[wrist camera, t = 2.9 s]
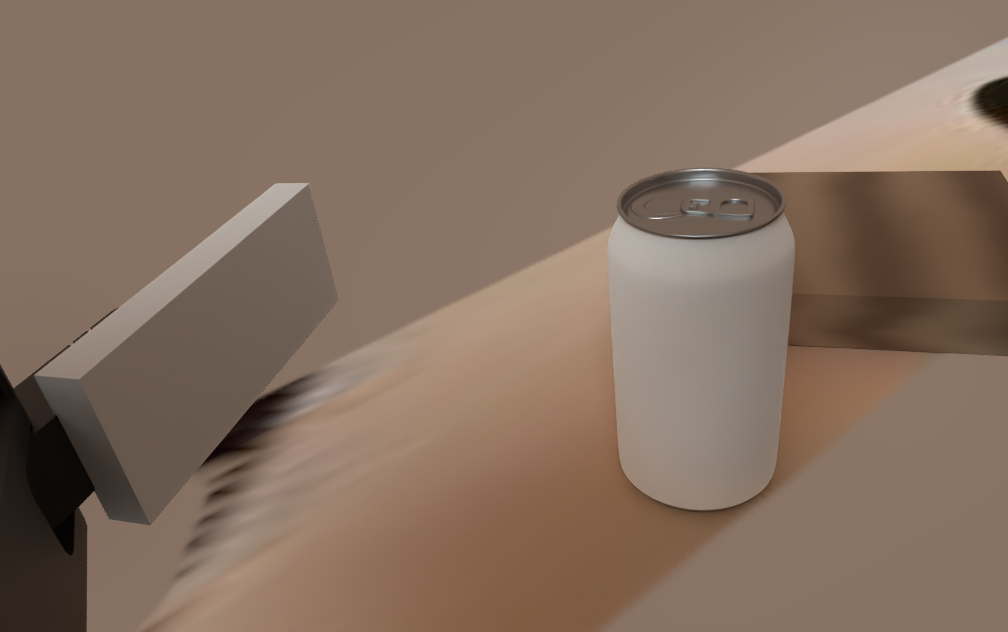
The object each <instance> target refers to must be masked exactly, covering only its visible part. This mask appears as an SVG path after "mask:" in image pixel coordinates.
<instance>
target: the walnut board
mask: <svg viewBox="0 0 1008 632" xmlns="http://www.w3.org/2000/svg"><path fill="white" fill-rule="evenodd" d="M751 174H755V175H758V176H761V177H763V178H765V179H768V180H770V181H771V182H773V183H775V184H776V185H777V186H778V187H779V188H780V189H781V190H782V191H783V192H784V194H785V197H786V206H785V209H784V211H783V212H784V214H785V216H786V218H787V220H788V223H789V225H790V227H791V229H792V232H793V235H794V239H795V261H794V274H793V287H792V299H791V311H790V323H789V335H788V345H800V346H820V347H840V348H859V349H879V350H899V351H918V352H938V353H958V354H978V355H997V356H1008V182H1007V180H1006V179H1005V177H1004V176H1003V174H1002V173H1001V171H909V172H787V173H751Z"/></svg>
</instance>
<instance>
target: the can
mask: <svg viewBox="0 0 1008 632" xmlns="http://www.w3.org/2000/svg"><path fill="white" fill-rule="evenodd" d="M785 206H786V197H785V194H784V192H783V191H782V190H781V189H780V188H779V187H778V186H777V185H776V184H775V183H773V182H771V181H770V180H768V179H765V178H763V177H761V176H758V175H755V174H751V173H747V172H743V171H738V170H731V169H721V168H692V169H681V170H674V171H668V172H664V173H660V174H656V175H653V176H650V177H647V178H644V179H642V180H639V181H637V182H636V183H634V184H632V185H630V186H629V187H628V188H626V189H625V190H624V191H623V192H622V193H621V195H620V196H619V199H618V201H617V210H618V213H619V216H618V218H617V220H616V222H615V224H614V226H613V229H612V231H611V233H610V236H609V240H608V278H609V298H610V317H611V335H612V353H613V371H614V388H615V405H616V421H617V436H618V450H619V459H620V464H621V467H622V470H623V472H624V473H625V475H626V477H627V478H628V479H629V480H630V482H631V483H632V484H633V485H634V486H635V487H637V488H638V489H639V490H640V491H642V492H643V493H645V494H646V495H648V496H649V497H651V498H652V499H654V500H656V501H658V502H660V503H662V504H664V505H667V506H670V507H673V508H677V509H681V510H687V511H696V512H709V511H718V510H724V509H728V508H731V507H734V506H737V505H739V504H741V503H743V502H745V501H747V500H749V499H751V498H752V497H754V496H756V495H757V494H758V493H760V492H761V491H762V490H763V489H764V488H765V487H766V486H767V485H768V483H769V482H770V480H771V479H772V477H773V474H774V472H775V468H776V462H777V454H778V444H779V434H780V424H781V413H782V402H783V391H784V380H785V369H786V357H787V346H788V335H789V323H790V311H791V299H792V287H793V274H794V261H795V239H794V235H793V232H792V229H791V227H790V225H789V223H788V220H787V218H786V216H785V214H784V212H783V211H784V209H785Z"/></svg>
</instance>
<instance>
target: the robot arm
mask: <svg viewBox="0 0 1008 632" xmlns="http://www.w3.org/2000/svg"><path fill="white" fill-rule="evenodd" d="M338 301H339V298H338V295H337V291H336V287H335V283H334V279H333V275H332V271H331V267H330V264H329V260H328V255H327V252H326V248H325V244H324V240H323V236H322V232H321V228H320V225H319V220H318V217H317V213H316V209H315V205H314V201H313V197H312V193H311V189H310V186H309V184H308V183H304V184H301V183H300V184H299V183H297V184H296V183H295V184H294V183H293V184H292V183H290V184H288V183H286V184H285V183H280V184H279V183H277V184H275V185H273V186H272V187H271V188H269V189H268V190H267V191H266V192H264V193H263V194H262V195H261V196H259V197H258V198H257V199H256V200H254V201H253V202H252V203H250V204H249V205H248V206H247V207H245V208H244V209H243V210H242V211H240V212H239V213H238V214H237V215H235V216H234V217H233V218H232V219H231V220H229V221H228V222H227V223H225V224H224V225H223V226H221V227H220V228H219V229H218V230H216V231H215V232H214V233H213V234H211V235H210V236H209V237H208V238H206V239H205V240H204V241H203V242H201V243H200V244H199V245H198V246H196V247H195V248H194V249H193V250H191V251H190V252H189V253H187V254H186V255H185V256H184V257H183V258H181V259H180V260H179V261H177V262H176V263H175V264H174V265H172V266H171V267H170V268H168V269H167V270H166V271H165V272H163V273H162V274H161V275H160V276H158V277H157V278H156V279H155V280H153V281H152V282H151V283H150V284H148V285H147V286H146V287H144V288H143V289H142V290H141V291H139V292H138V293H137V294H136V295H134V296H133V297H132V298H131V299H129V300H128V301H127V302H126V303H124V304H123V305H122V306H121V307H119V308H117V309H115V310H113V311H111V312H110V313H109V314H108V315H106V316H105V317H104V318H103V319H101V320H100V321H99V322H97V323H96V324H95V325H94V326H92V327H91V330H90V331H86V332H85V333H83V334H82V335H81V336H80V337H78V338H77V339H76V340H75V341H73V345H68V346H67V347H66V348H64V349H63V350H62V351H61V352H59V353H58V354H57V355H56V356H54V357H53V358H52V359H51V360H49V361H48V362H47V363H45V364H44V365H43V366H42V367H40V368H39V369H38V370H37V371H36V372H34V373H33V374H32V375H30V376H29V377H28V378H26V379H25V380H24V381H23V382H22V383H20V384H19V385H18V386H16V387H15V388H14V389H13V387H12V385H11V383H10V381H9V380H8V378H7V376H6V374H5V372H4V371H3V369H2V367H1V365H0V632H86V625H87V624H86V623H87V622H86V620H87V614H86V613H87V524H86V521H85V518H84V516H83V515H82V513H81V511H80V509H79V506H80V505H81V504H82V503H83V502H84V500H86V499H87V497H89V496H90V495H91V493H92V492H93V491H95V493H96V495H97V497H98V499H99V501H100V503H101V504H102V506H103V508H104V510H105V512H106V514H107V516H108V518H109V519H111V520H118V521H125V522H132V523H138V524H145V525H151V524H152V523H153V522H154V521H155V519H156V518H157V517H158V516H159V515H160V513H161V512H162V511H163V510H164V509H165V507H166V506H167V505H168V504H169V503H170V501H171V500H172V499H173V498H174V497H175V496H176V494H177V493H178V492H179V491H180V490H181V488H182V487H183V486H184V485H185V484H186V482H187V481H188V480H189V479H190V478H191V476H192V475H193V474H194V473H195V472H196V470H197V469H198V468H199V467H200V466H201V464H202V463H203V462H204V461H205V460H206V459H207V457H208V456H209V455H210V454H211V453H212V451H213V450H214V449H215V448H216V447H217V445H218V444H219V443H220V442H221V441H222V439H223V438H224V437H225V436H226V435H227V433H228V432H229V431H230V430H231V429H232V428H233V426H234V425H235V424H236V423H237V422H238V420H239V419H240V418H241V417H242V416H243V414H244V413H245V412H246V411H247V410H248V408H249V407H250V406H251V405H252V404H253V402H254V401H255V400H256V399H257V398H258V396H259V395H260V394H261V393H262V392H263V391H264V389H265V388H266V387H267V386H268V384H269V383H270V382H271V381H272V380H273V379H274V377H275V376H276V375H277V374H278V373H279V371H280V370H281V369H282V368H283V367H284V365H285V364H286V363H287V362H288V361H289V359H290V358H291V357H292V356H293V355H294V354H295V352H296V351H297V350H298V349H299V348H300V346H301V345H302V344H303V342H305V340H306V339H307V338H308V337H309V336H310V334H311V333H312V332H313V331H314V330H315V328H316V327H317V326H318V325H319V324H320V322H321V321H322V320H323V319H324V318H325V317H326V315H327V314H328V313H329V312H330V310H331V309H332V308H333V307H334V305H335V304H336V303H337V302H338Z"/></svg>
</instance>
